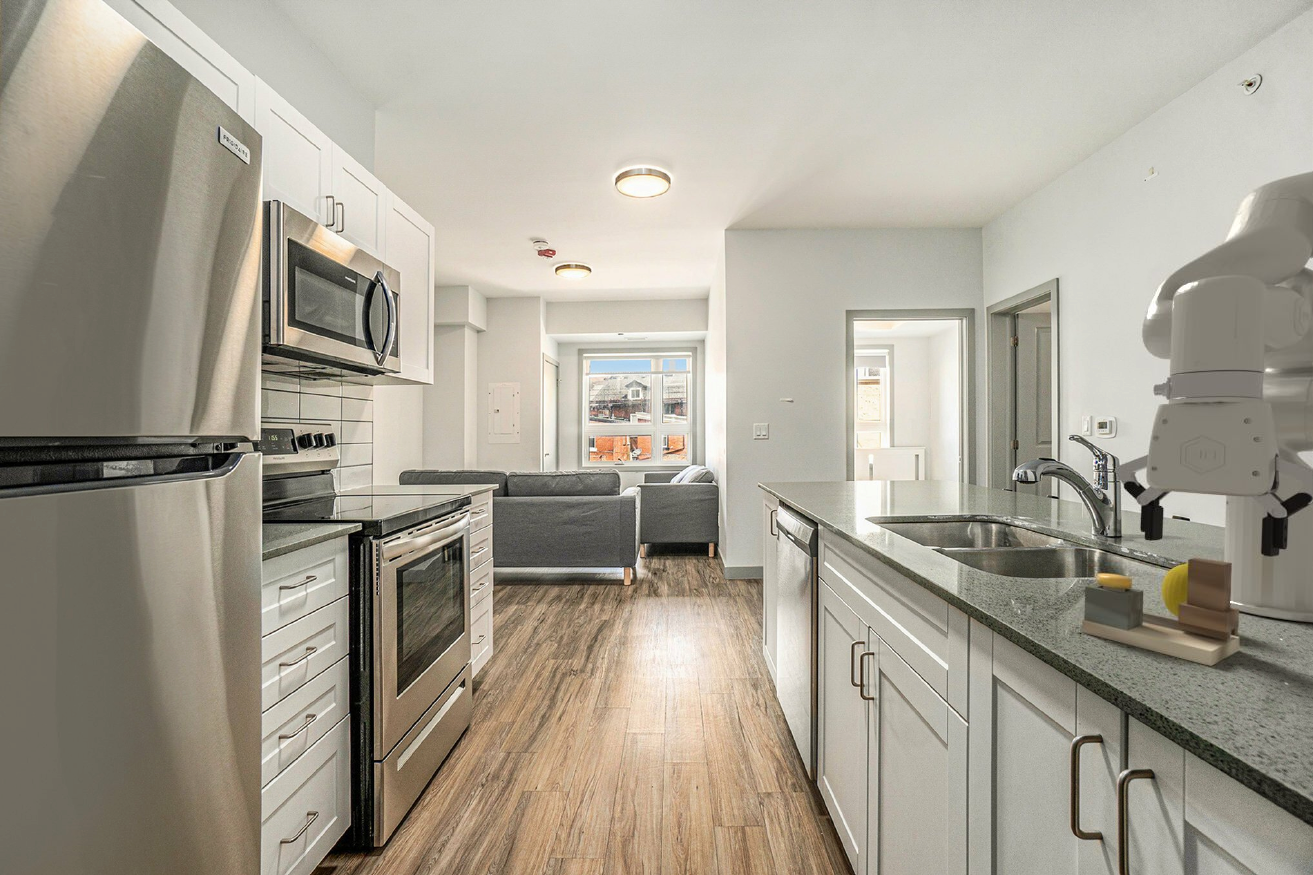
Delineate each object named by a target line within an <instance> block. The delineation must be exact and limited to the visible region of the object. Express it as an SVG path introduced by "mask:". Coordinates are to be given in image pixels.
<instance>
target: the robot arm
mask: <svg viewBox="0 0 1313 875" xmlns="http://www.w3.org/2000/svg"><path fill="white" fill-rule="evenodd" d="M1233 216H1234V217H1233V219H1232V221H1231V223H1230V225H1229V228H1228V230H1227V233H1226V234H1225V237H1224V239H1223V242H1222V243H1221V244H1220V245H1218V246H1216V247H1214V248H1212V249H1210V250H1209V251H1208V250H1207V252H1205V253H1203V254H1202V255H1200V256H1198V257H1197V258H1195V259H1194V260H1192V261H1190V262H1188V263H1187V264H1185V265H1183V266H1181V267H1179V268H1178V269H1176V270H1175V271H1174V272H1173V273H1172V274H1170V275H1168V277H1166V278H1165V279H1164V280H1163V281H1162V283H1161V284H1160V285H1159V286H1158V288H1157V289H1156V292H1155V294H1154V295H1153V298H1152V300H1151V301H1150V304H1149V306H1148V308H1147V311H1146V312H1145V316H1144V319H1143V323H1142V332H1141V333H1142V334H1141V335H1142V342H1143V344H1144V347H1145V349H1146V350H1147V351H1148V353H1150V354H1151V355H1152V356H1153V357H1156V358H1159V359H1162V360H1170V361H1169V362H1170V363H1169V376H1168V377H1167V379H1166V381H1165V382H1163V383H1160V384H1155V385H1154V386H1153V394H1154V396H1155V397H1156V396H1162V397H1164V398H1166V400H1167V401H1168V403H1163V404H1162V403H1161V404H1158V407H1157V409H1156V410H1157V411H1156V414H1155V417H1154V421H1153V426H1152V429H1151V430H1152V431H1151V436H1150V441H1149V448H1148V453H1147V454H1146V455H1144V456H1140V457H1138V458H1136V459H1133V460H1131V461H1128V462H1124V463H1122V464H1120V465H1117V466H1115V468H1114V472H1115V473H1116V475H1117V476H1118V479H1119V480H1120V482H1121V483H1122V484H1123V488H1124V490H1125V491H1126V492H1127V493H1128V494H1129V495H1130V496H1132V498H1134V500H1136V503H1137V504H1138V505H1140V506H1141V507H1140V524H1139V526H1140V532H1141V533H1144V540H1145V541H1149V542H1151V541H1152V542H1155V541H1160V540H1162V539H1163V532H1164V510H1165V509H1164V507H1163V506H1162V505H1160V502H1161V501H1162V500H1163V499H1164V498H1165V497H1166V496H1167V495H1169V494H1170V493H1172V492H1174V493H1187V494H1188V493H1189V494H1201V495H1213V496H1214V495H1216V496H1225V497H1226V498H1225V522H1224V523H1225V524H1224V525H1225V526H1224V528H1225V529H1224V530H1225V531H1224V556H1223V557H1224V558H1223V559H1224V561H1223V562H1229V563H1232V573H1231V607H1233V608H1239V612H1243V613H1247V614H1252V615H1257V616H1260V617H1267V618H1268V617H1269V618H1273V619H1279V620H1286V621H1287V620H1288V621H1296V622H1303V623H1304V622H1305V623H1313V467H1311V465H1309V464H1308V463H1307V462H1306V461H1304V460H1303V459H1302V458H1301V457H1300V456H1299V455H1298V454H1299V453H1300V452H1301V453H1302V452H1313V269H1311V268H1308V267H1306V266H1307V264H1308V262H1309V260H1310V259H1312V258H1313V170H1312V171H1309V172H1304V173H1300V174H1295V175H1292V176H1287V177H1283V178H1280V179H1276V180H1273V181H1271V182H1268V183H1265V184H1263V185H1261V186H1259V187H1257V188H1256V189H1254V190H1253V191H1251V192H1249V194H1247V195H1246V196H1245V197H1244V199H1243V200H1242V201H1241V202H1240V204H1239V205H1238V208H1237V210H1236V212H1235V215H1233ZM1145 469H1146V472H1145V473H1146V476H1145V477H1146V483H1147V485H1148V486H1149V487H1147V488H1146V487H1145V486H1144V485H1142V484H1141V483H1140V482H1139V481H1138V480H1137V477H1136V473H1137V472H1140V471H1142V470H1145Z"/></svg>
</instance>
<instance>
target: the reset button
mask: <svg viewBox="0 0 1313 875" xmlns="http://www.w3.org/2000/svg"><path fill="white" fill-rule="evenodd" d="M1096 575H1097V577H1096V584H1097V583H1098V584H1100V585H1103V589H1107V590H1112V591H1117V592H1122V593H1123V592H1125V589H1130V588H1132V589H1133V587H1132V586H1133V585H1132V584H1133V578H1131V577H1130V576H1126V575H1121V574H1117V573H1097V574H1096Z"/></svg>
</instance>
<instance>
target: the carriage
mask: <svg viewBox="0 0 1313 875" xmlns="http://www.w3.org/2000/svg"><path fill="white" fill-rule="evenodd" d="M1187 563H1188V585H1187V601H1186V602H1183V603H1180V604H1179V605H1178V617H1177V618H1178V622H1179V628H1178V629H1182V630H1186V631H1191V632H1195V633H1199V634H1204V635H1208V636H1212V637H1217V638H1221V639H1225V640H1227V639H1229V638H1230V631H1231V635H1233V636H1237V635H1238V634H1239V626H1240V625H1239V620H1240V611H1239V608H1233V607H1231V573H1232V563H1229V562H1224V561H1220V560H1215V559H1208V558H1202V557H1201V558H1200V557H1193V558H1189V559H1188V560H1187Z"/></svg>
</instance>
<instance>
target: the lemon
mask: <svg viewBox="0 0 1313 875" xmlns="http://www.w3.org/2000/svg"><path fill="white" fill-rule="evenodd" d="M1187 585H1188V562H1186V563H1184V564H1178V565H1177V566H1175V567H1172V568H1171V569H1170V570H1169V571H1167V573H1166V574H1165V576H1164V578H1163V580H1162V585H1161V597H1162V601H1163V604H1164V605H1165V608H1167V610H1168V611H1169V613H1171V614H1172V615H1174V616H1175V617H1176V618H1178V605H1179V604H1180V603H1183V602H1186V601H1187Z"/></svg>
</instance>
